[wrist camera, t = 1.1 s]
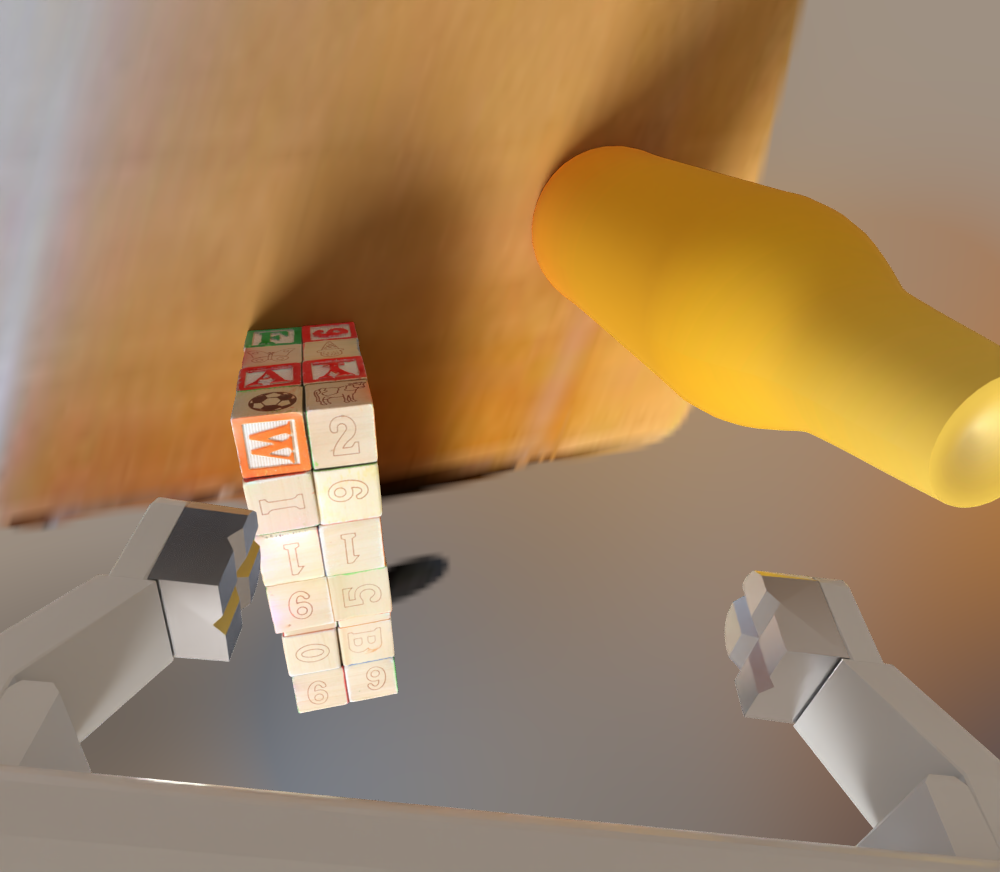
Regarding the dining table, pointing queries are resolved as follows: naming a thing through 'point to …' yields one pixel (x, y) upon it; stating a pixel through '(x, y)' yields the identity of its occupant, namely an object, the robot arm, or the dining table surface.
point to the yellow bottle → (773, 316)
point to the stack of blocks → (317, 509)
